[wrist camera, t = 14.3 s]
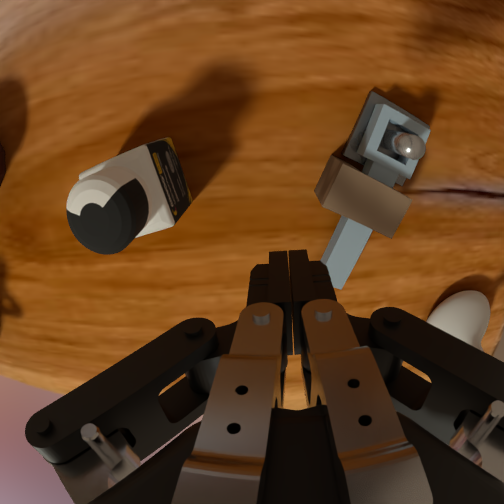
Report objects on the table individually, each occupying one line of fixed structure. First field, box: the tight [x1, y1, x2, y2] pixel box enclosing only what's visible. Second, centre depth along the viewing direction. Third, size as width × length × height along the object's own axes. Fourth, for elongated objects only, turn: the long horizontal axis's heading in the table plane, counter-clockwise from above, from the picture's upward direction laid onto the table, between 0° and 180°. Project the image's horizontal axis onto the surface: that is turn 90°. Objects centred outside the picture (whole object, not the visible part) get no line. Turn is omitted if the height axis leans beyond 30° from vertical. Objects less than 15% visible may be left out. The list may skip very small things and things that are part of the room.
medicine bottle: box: [67, 137, 193, 254], centre depth 25 cm, size 7×7×12 cm
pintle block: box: [342, 91, 430, 186], centre depth 24 cm, size 7×7×7 cm
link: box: [320, 104, 431, 289], centre depth 28 cm, size 18×5×2 cm, turn 161°
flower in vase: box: [426, 290, 490, 352], centre depth 25 cm, size 13×11×25 cm
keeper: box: [314, 155, 412, 239], centre depth 27 cm, size 4×7×5 cm, turn 68°
